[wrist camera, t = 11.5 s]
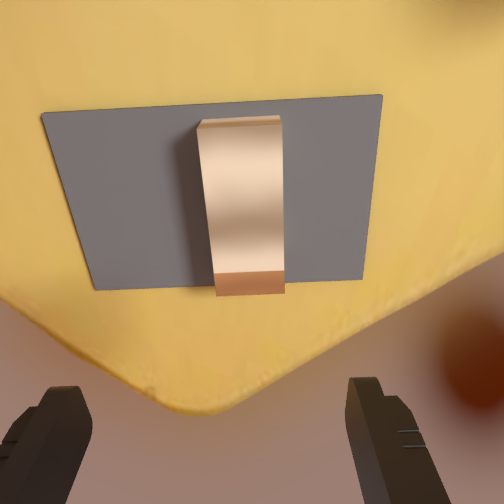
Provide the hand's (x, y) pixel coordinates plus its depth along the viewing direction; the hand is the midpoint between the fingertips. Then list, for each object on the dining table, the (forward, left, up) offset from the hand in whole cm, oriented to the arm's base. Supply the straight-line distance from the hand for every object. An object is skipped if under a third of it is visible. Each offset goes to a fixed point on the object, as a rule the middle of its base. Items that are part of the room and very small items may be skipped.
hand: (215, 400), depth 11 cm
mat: (-1, -1, -19) cm, 19 cm away
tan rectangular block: (+1, -1, -18) cm, 18 cm away
